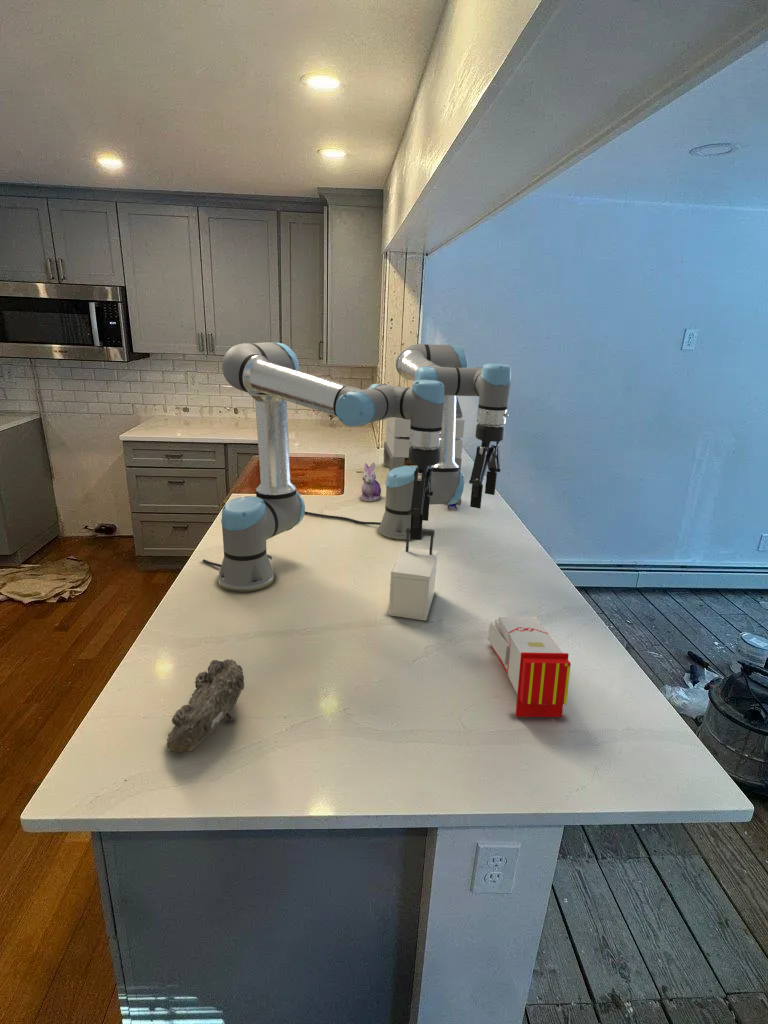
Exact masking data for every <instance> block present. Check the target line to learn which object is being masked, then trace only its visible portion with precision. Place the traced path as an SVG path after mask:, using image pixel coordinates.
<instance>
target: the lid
mask: <svg viewBox="0 0 768 1024" xmlns="http://www.w3.org/2000/svg"><path fill="white" fill-rule="evenodd" d="M410 528H411V527H407V528H406V534H407V537H406V540H405V546H402V548H401V550H400V552H399V554H398V555H397V559H396V561H395V562H394V565H393V567H392V569H391V571H390V577H391V576H394V577H401V578H409V579H416V580H424V581H429V580H430V577H431V574H432V571H433V568H434V565H435V562H436V559H437V560H438V554H439V551H438V550H433V545H434V537H435V531H436V530H435V529H432V528H431V529H430V528H423V527H422V536H424V537H429V538H430V539H429V549H422V548H416V547H415V548H414V547H410V540H409V535H410Z"/></svg>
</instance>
